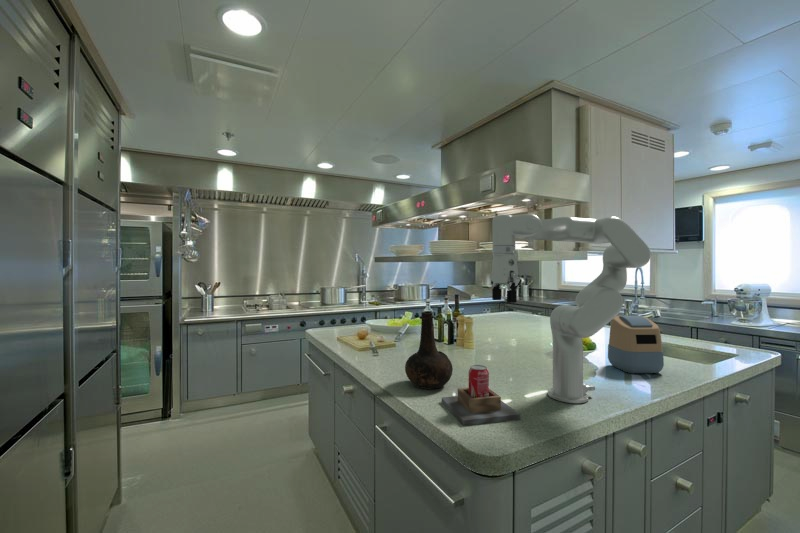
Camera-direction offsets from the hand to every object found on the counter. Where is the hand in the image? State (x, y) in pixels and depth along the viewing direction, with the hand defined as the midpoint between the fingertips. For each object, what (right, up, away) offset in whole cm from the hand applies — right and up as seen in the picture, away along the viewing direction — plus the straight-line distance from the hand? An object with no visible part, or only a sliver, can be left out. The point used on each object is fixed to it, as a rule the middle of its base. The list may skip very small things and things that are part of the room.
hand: (503, 301), depth 120 cm
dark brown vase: (-25, -34, +14) cm, 44 cm away
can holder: (-11, -33, -10) cm, 36 cm away
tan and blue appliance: (+67, -34, +33) cm, 82 cm away
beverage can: (-11, -32, -10) cm, 35 cm away
